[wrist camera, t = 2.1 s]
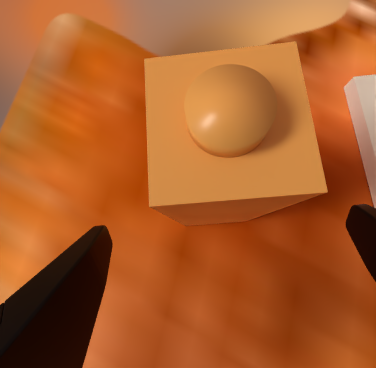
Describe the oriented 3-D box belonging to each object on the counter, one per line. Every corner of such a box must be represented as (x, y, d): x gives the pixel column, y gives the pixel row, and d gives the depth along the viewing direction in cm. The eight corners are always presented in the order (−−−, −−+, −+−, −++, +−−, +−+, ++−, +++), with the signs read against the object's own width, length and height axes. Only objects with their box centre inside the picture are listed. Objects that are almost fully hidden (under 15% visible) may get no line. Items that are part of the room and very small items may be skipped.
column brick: (245, 221, 18) (345, 185, 5) (185, 225, 18) (141, 202, 6) (238, 163, 19) (307, 17, 6) (181, 168, 20) (137, 38, 7)
